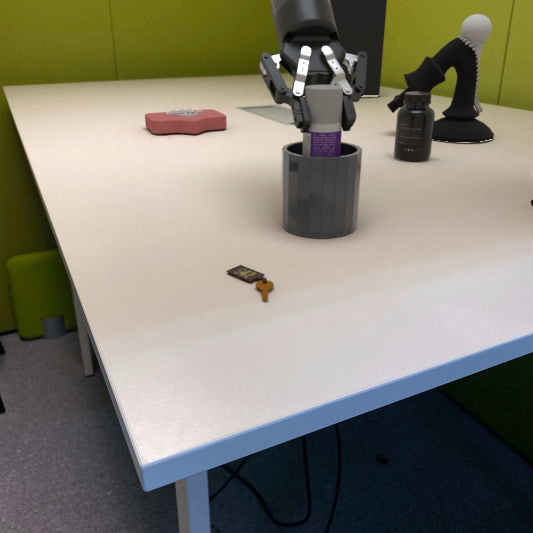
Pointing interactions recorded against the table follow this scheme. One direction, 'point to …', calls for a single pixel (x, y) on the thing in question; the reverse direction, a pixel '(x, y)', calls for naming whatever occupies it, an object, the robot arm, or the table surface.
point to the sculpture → (465, 98)
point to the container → (323, 121)
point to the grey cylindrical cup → (320, 191)
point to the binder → (362, 36)
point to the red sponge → (185, 121)
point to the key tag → (253, 278)
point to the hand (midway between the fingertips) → (327, 127)
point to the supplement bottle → (414, 128)
